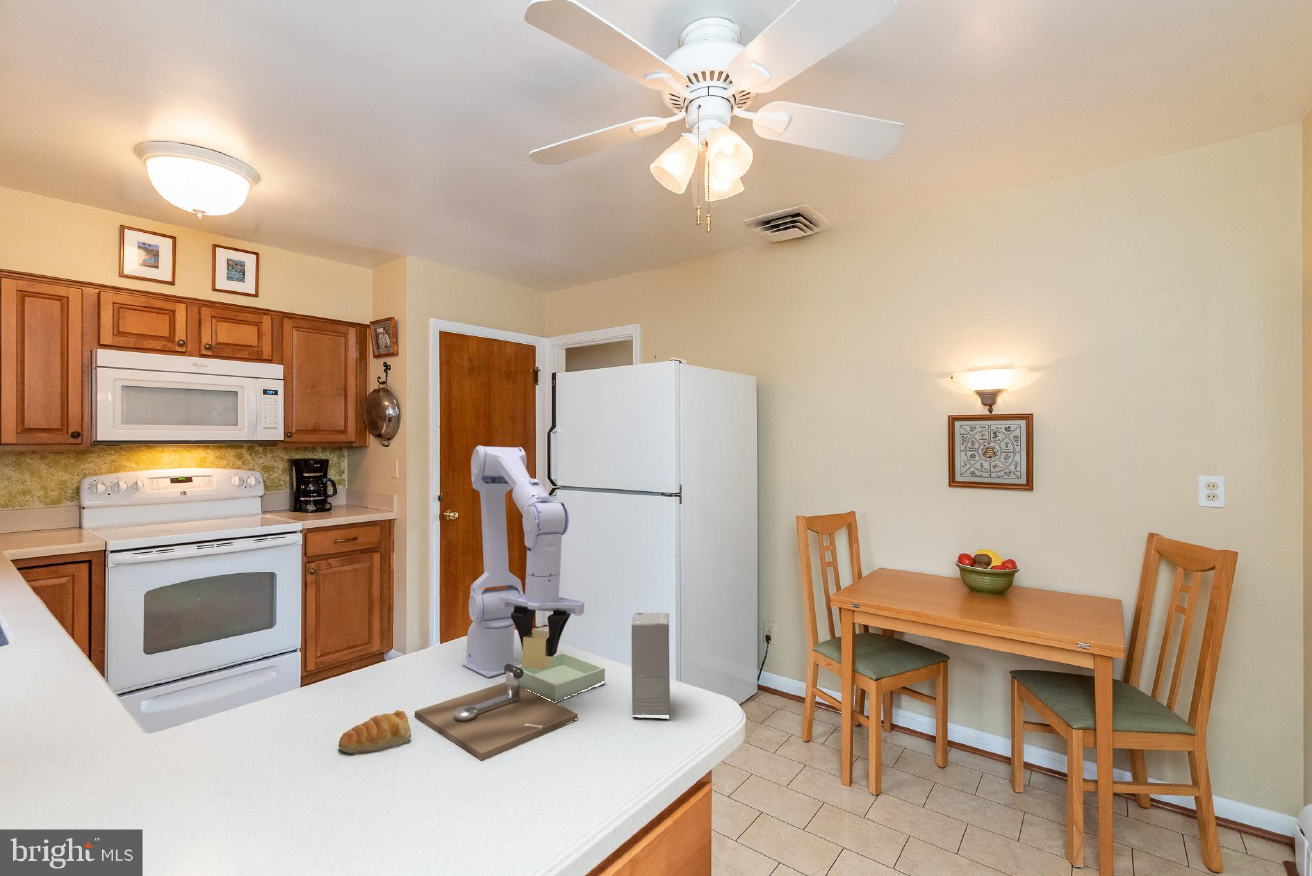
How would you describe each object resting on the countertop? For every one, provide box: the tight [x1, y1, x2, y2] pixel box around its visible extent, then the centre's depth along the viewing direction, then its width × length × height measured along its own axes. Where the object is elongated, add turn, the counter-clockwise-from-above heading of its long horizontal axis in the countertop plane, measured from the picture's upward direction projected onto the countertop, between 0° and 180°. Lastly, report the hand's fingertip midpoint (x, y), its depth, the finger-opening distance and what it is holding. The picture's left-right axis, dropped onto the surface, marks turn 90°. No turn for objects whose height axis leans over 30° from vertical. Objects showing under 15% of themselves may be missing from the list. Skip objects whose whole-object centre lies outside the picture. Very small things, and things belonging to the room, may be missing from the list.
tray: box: [517, 652, 606, 702], centre depth 112 cm, size 12×12×3 cm
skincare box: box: [631, 612, 671, 716], centre depth 103 cm, size 8×7×16 cm
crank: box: [453, 664, 524, 721], centre depth 98 cm, size 12×5×6 cm, turn 139°
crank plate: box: [414, 681, 578, 761], centre depth 97 cm, size 19×18×1 cm
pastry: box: [337, 709, 412, 755], centre depth 88 cm, size 9×7×4 cm
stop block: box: [521, 629, 554, 670], centre depth 101 cm, size 4×4×5 cm
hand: (539, 653), depth 102 cm, fingers closed on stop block, 4 cm apart
